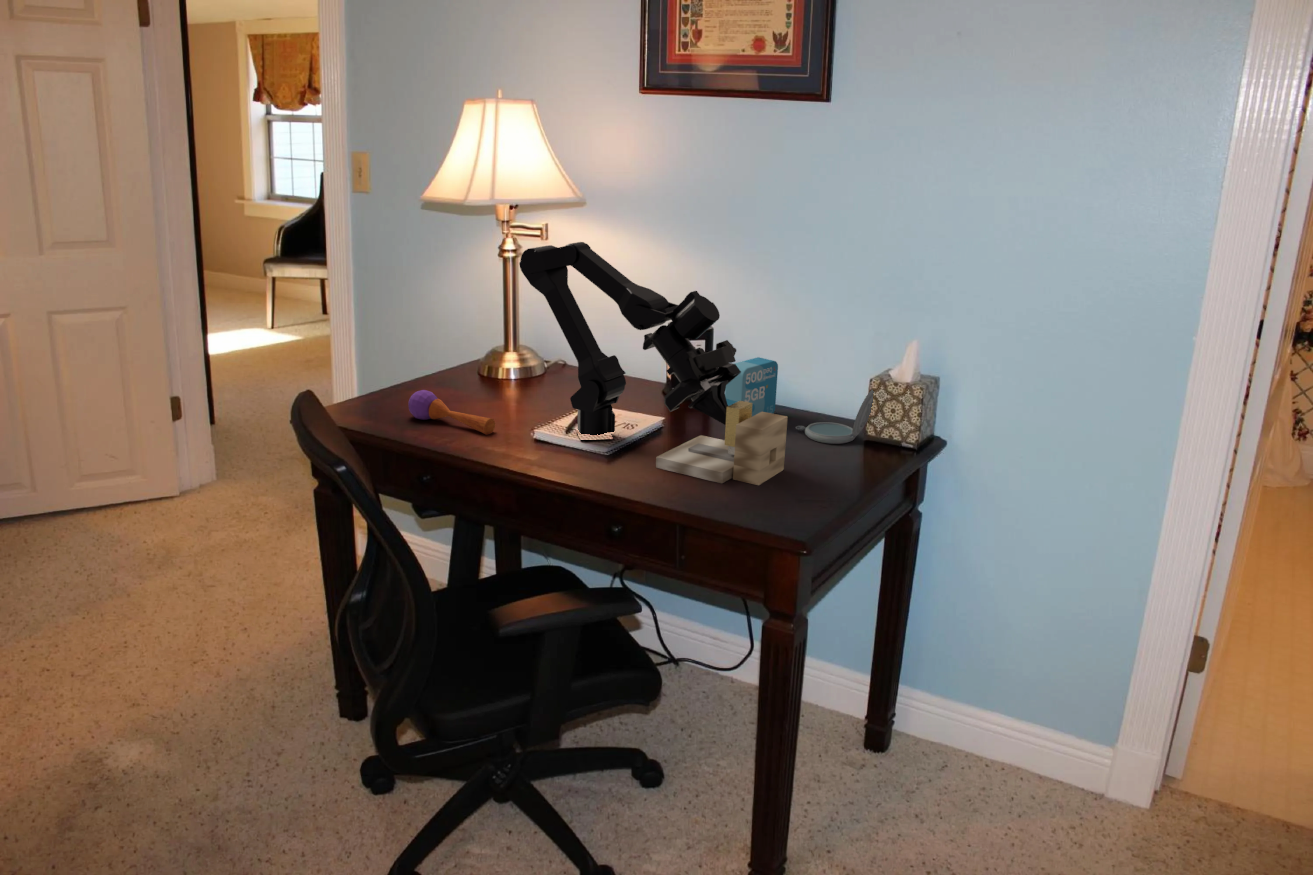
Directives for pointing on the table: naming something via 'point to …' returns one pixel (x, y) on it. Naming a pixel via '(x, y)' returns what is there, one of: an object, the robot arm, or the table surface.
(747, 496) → the table surface
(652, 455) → the table surface
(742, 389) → the data package
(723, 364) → the robot arm
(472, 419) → the purple maraca
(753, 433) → the door and jamb
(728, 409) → the bolt
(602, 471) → the table surface
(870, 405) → the pocket watch
